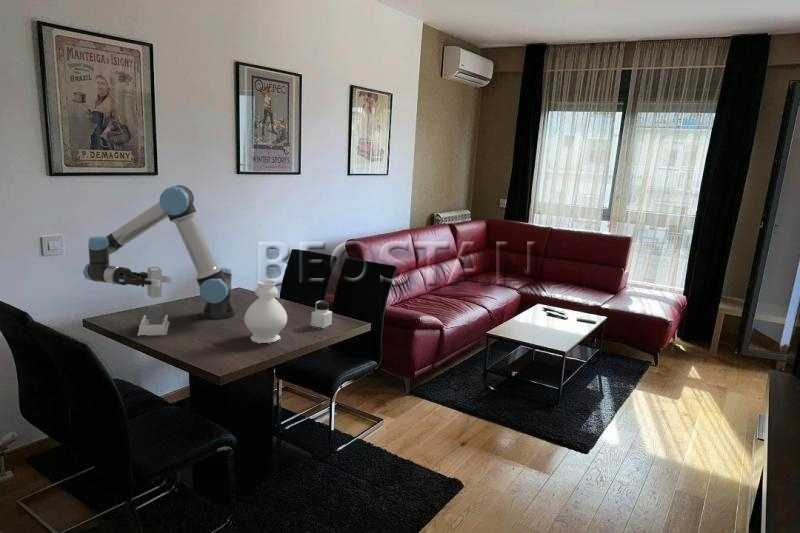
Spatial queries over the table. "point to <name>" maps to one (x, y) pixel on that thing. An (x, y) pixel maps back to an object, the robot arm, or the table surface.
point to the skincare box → (156, 275)
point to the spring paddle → (155, 313)
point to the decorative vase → (265, 314)
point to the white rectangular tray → (153, 327)
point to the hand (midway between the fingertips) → (165, 281)
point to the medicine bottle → (321, 315)
